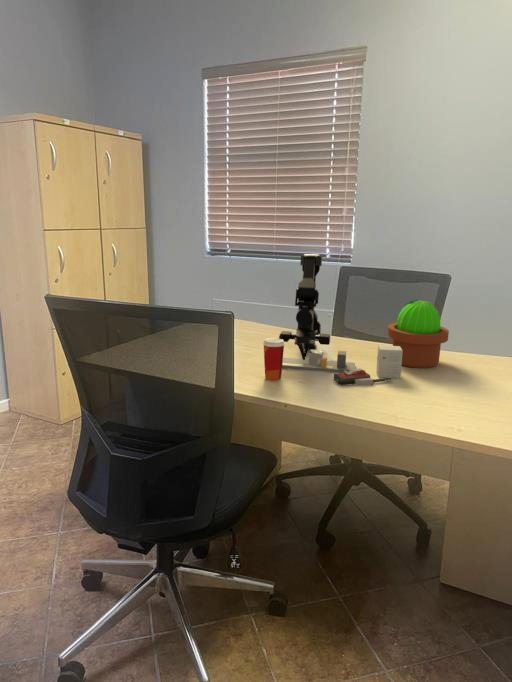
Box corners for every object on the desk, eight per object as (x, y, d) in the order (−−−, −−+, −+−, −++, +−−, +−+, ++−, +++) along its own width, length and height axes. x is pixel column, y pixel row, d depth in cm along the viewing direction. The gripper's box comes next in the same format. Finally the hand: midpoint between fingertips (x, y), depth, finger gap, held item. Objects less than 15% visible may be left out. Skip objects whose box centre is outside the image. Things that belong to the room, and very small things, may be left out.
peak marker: (321, 364, 194) (321, 357, 193) (326, 365, 194) (327, 357, 193) (320, 366, 192) (321, 358, 191) (326, 366, 192) (326, 359, 191)
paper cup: (272, 373, 189) (273, 336, 186) (288, 378, 184) (289, 340, 180) (257, 378, 184) (257, 339, 180) (273, 383, 179) (274, 344, 175)
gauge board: (277, 360, 205) (277, 344, 204) (354, 365, 199) (355, 350, 198) (273, 367, 196) (273, 351, 194) (354, 373, 190) (355, 357, 188)
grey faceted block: (309, 360, 200) (310, 349, 199) (322, 361, 199) (323, 350, 198) (307, 366, 193) (308, 354, 192) (320, 367, 192) (321, 355, 191)
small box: (398, 373, 191) (400, 345, 188) (400, 378, 186) (403, 350, 183) (375, 372, 192) (378, 345, 189) (377, 377, 186) (380, 349, 184)
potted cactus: (456, 367, 199) (464, 302, 193) (408, 372, 192) (414, 306, 185) (420, 351, 219) (426, 292, 213) (375, 356, 212) (379, 295, 205)
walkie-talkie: (341, 389, 176) (392, 383, 182) (341, 376, 174) (393, 371, 180) (329, 380, 184) (379, 375, 190) (330, 369, 183) (380, 364, 189)
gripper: (277, 322, 188) (276, 364, 192) (329, 326, 184) (327, 368, 188) (282, 316, 198) (280, 355, 202) (331, 319, 195) (329, 359, 199)
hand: (303, 359), depth 198 cm, fingers closed
